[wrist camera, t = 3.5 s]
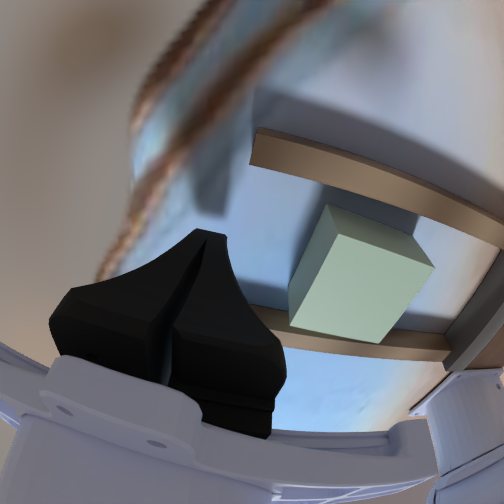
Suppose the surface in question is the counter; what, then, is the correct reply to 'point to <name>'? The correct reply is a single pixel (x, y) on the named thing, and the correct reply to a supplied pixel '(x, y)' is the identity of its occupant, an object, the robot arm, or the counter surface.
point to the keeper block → (355, 277)
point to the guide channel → (409, 198)
